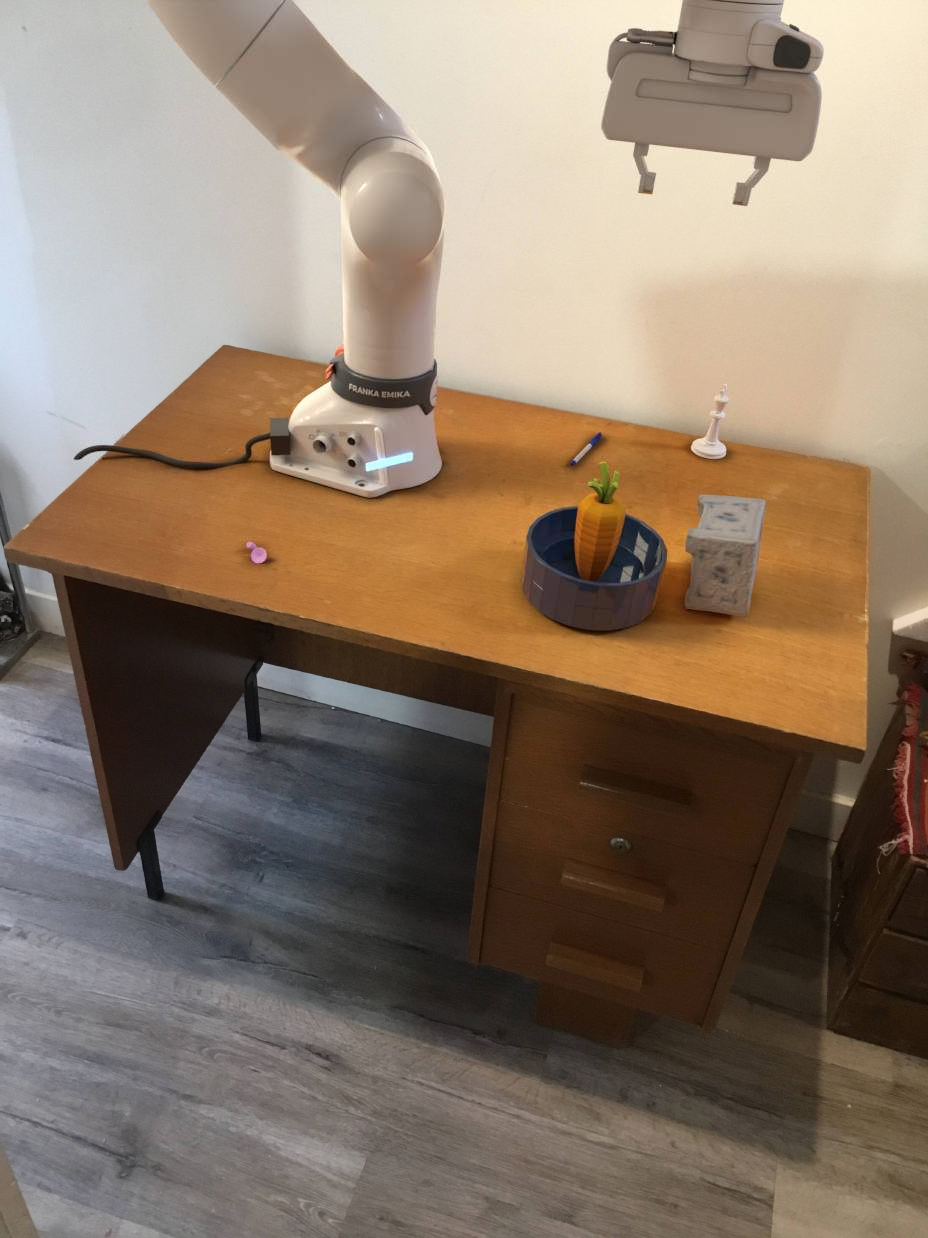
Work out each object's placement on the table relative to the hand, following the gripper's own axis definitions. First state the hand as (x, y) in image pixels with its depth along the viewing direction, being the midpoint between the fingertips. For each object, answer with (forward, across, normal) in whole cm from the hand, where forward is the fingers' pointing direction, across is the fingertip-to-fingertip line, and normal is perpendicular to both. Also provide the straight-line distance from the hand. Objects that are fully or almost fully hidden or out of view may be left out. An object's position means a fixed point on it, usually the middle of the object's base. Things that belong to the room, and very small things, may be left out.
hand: (692, 198), depth 92 cm
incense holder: (+37, +11, -14) cm, 41 cm away
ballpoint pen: (+37, -7, +14) cm, 40 cm away
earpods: (+37, -40, -23) cm, 59 cm away
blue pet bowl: (+37, -3, -18) cm, 42 cm away
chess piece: (+37, +10, +20) cm, 43 cm away
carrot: (+37, -3, -18) cm, 41 cm away
